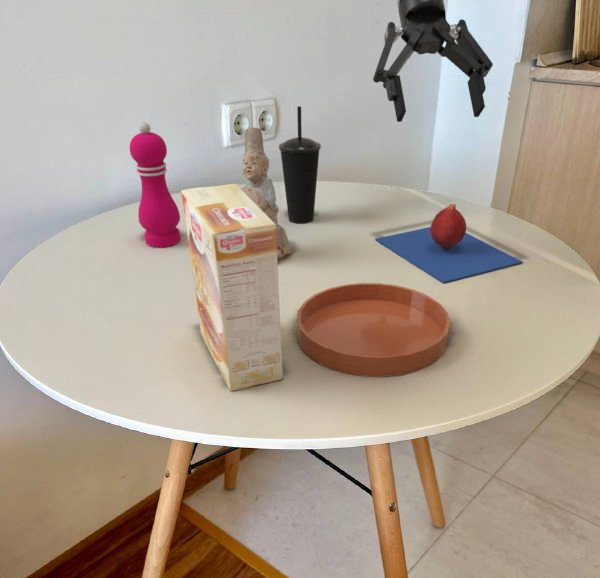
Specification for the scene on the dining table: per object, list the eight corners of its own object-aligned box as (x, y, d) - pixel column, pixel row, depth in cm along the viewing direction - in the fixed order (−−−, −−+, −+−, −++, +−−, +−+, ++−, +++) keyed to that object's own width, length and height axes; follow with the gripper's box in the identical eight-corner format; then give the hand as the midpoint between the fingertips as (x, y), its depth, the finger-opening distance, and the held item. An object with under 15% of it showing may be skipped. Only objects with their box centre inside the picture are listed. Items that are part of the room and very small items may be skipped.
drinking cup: (302, 209, 120) (300, 100, 108) (328, 219, 115) (330, 106, 103) (273, 219, 116) (268, 107, 104) (299, 229, 111) (297, 113, 99)
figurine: (258, 242, 106) (251, 122, 94) (300, 250, 103) (297, 127, 91) (231, 260, 100) (219, 134, 88) (274, 270, 97) (268, 140, 85)
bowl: (478, 351, 76) (482, 332, 74) (343, 393, 69) (344, 373, 68) (392, 289, 91) (394, 272, 89) (273, 319, 84) (273, 301, 82)
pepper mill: (157, 231, 111) (138, 116, 99) (190, 236, 109) (175, 119, 97) (135, 245, 106) (111, 125, 94) (169, 251, 104) (149, 129, 92)
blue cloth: (522, 263, 97) (522, 261, 97) (443, 283, 92) (443, 281, 92) (447, 224, 112) (447, 223, 112) (375, 240, 106) (375, 238, 106)
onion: (425, 253, 100) (430, 206, 96) (431, 241, 105) (437, 195, 100) (459, 258, 99) (467, 210, 94) (465, 245, 103) (472, 199, 98)
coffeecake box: (199, 333, 81) (178, 189, 69) (248, 323, 83) (237, 181, 71) (228, 393, 70) (210, 233, 58) (285, 380, 72) (278, 222, 60)
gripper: (479, 15, 106) (501, 123, 103) (344, 21, 103) (363, 132, 100) (497, -20, 99) (521, 95, 96) (353, -16, 96) (373, 103, 93)
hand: (441, 114), depth 98 cm, fingers open, 13 cm apart
